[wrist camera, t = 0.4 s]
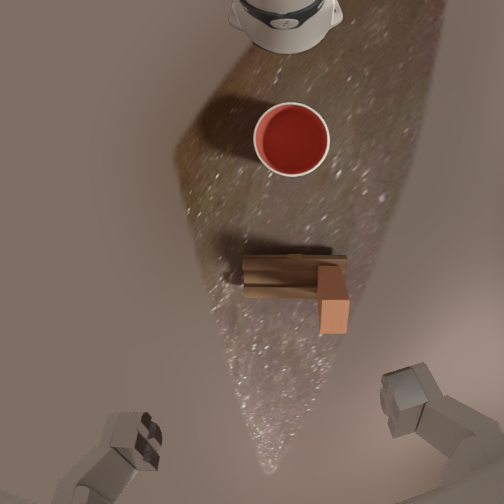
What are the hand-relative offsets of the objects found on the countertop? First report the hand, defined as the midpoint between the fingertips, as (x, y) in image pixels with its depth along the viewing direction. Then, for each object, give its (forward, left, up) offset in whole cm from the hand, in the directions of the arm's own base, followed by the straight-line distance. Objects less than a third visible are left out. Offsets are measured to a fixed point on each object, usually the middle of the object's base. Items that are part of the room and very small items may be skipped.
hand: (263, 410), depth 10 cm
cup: (-9, 0, -46) cm, 46 cm away
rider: (+13, +5, -42) cm, 44 cm away
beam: (+13, 0, -45) cm, 47 cm away
